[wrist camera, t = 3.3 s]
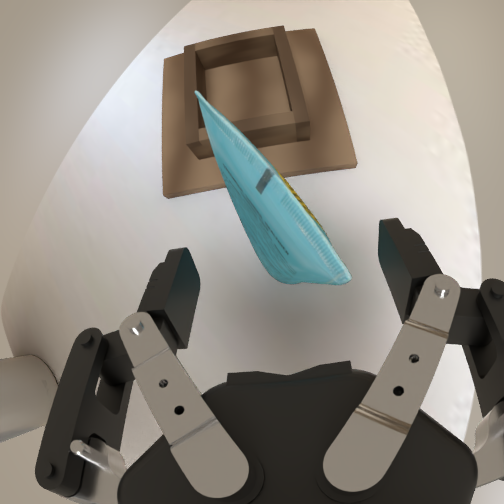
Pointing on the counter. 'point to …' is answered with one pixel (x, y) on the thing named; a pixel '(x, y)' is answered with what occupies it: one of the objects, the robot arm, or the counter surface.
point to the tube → (271, 209)
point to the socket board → (253, 107)
